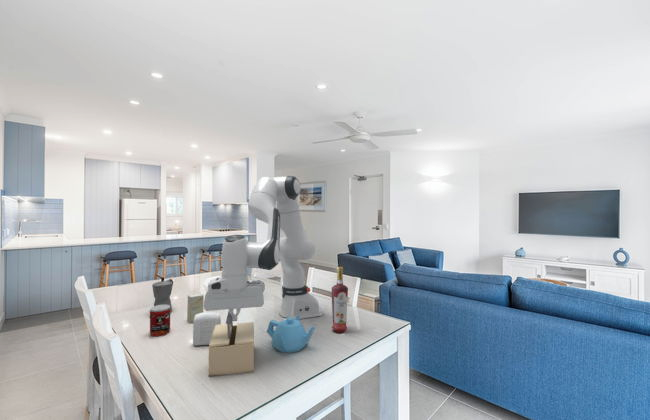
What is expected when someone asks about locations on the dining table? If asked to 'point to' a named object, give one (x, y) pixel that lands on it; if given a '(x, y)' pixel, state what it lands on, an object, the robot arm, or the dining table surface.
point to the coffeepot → (163, 292)
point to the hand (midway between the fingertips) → (234, 320)
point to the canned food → (159, 320)
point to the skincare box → (194, 306)
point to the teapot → (289, 335)
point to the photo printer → (204, 327)
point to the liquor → (339, 303)
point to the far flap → (222, 333)
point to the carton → (234, 352)
